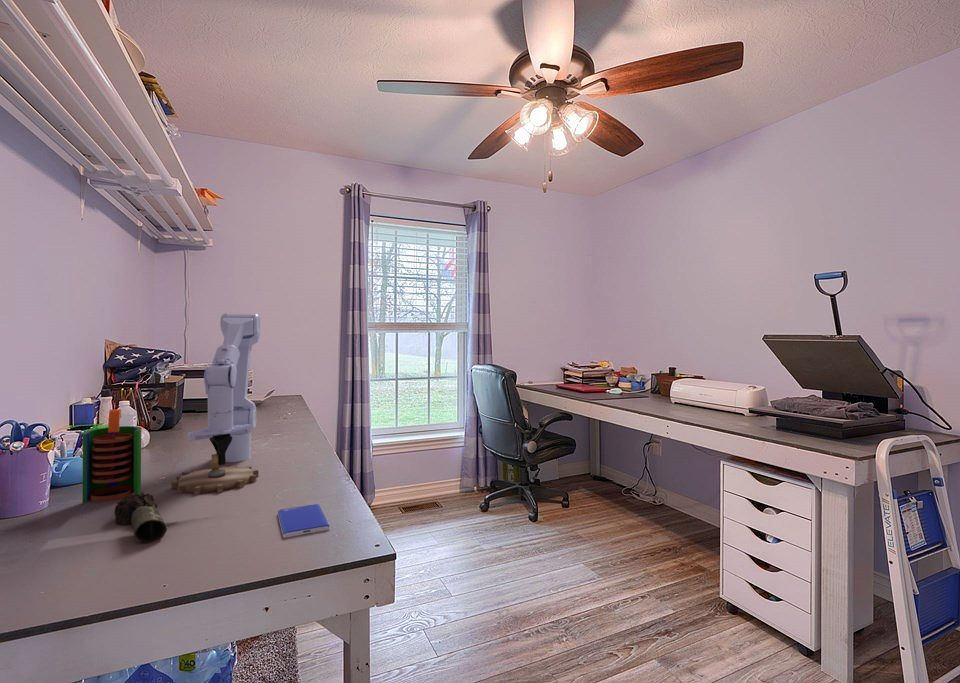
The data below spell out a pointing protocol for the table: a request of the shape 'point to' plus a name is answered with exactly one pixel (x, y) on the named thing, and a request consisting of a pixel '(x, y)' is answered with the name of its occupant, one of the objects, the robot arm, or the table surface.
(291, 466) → the table surface
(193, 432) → the robot arm
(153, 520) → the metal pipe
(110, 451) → the motor
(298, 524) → the hard drive
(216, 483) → the sprocket
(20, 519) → the table surface
